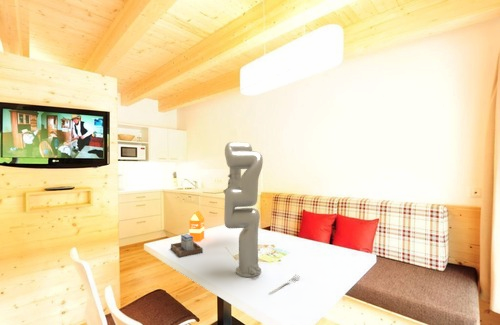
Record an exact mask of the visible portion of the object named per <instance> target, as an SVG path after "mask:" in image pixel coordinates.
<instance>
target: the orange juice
mask: <svg viewBox="0 0 500 325" xmlns="http://www.w3.org/2000/svg"><path fill="white" fill-rule="evenodd" d="M189 235H191V236H193V241H194V242H195V243H197V242H199V243H201V242H202V241H203V240H204V239H205V217H204V216H203V214H202V213H201V211H200V210H198V211H196V212H194V213H193V214H192V216H191V217H190V218H189Z"/></svg>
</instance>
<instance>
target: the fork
mask: <svg viewBox="0 0 500 325" xmlns="http://www.w3.org/2000/svg"><path fill="white" fill-rule="evenodd" d="M300 277H301V275H298V274H295V275H293V277H292V278H291V279H289V282H285V283H282V284H281V285H279V287H277V288H275V289H274V290H272V291H270V292H268V296H270V295H273V294H275V293H276V292H278V291H279V290H280V289H281V288H283V287H284V286H285V285H291V283H290V282H292V283H296V282H297V281H298V280H299V279H300Z"/></svg>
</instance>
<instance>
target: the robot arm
mask: <svg viewBox="0 0 500 325" xmlns="http://www.w3.org/2000/svg"><path fill="white" fill-rule="evenodd" d="M224 156H225V160H226V165H227V166H228V168H229V174H228V175H227V178H228V182H227V187H226V188H225V189H223V194H224V212H223V213H224V215H223V216H224V217H223V218H224V219H223V221H224V222H223V223H224V226H225V228H227V229H242V230H241V232H239V234H238V266H237V267H236V269H235V273H236V274H237V275H238V276H240V277H244V278H254V277H257V276H259V275H260V274H262V268H261V267H260V266H259V265H260V264H259V226H260V219H261V218H260V217H261V215H260V212H259V211H258V210H257V209H256V208H254V206H256V205H257V203H258V196H259V195H258V194H259V193H258V191H259V189H258V188H259V178H260V174H261V171H262V168H263V161H264V160H263V155H262V154H261V152H258V151H254V150H253V148H252V145H251V144H250V143H248V142H244V141H242V142H241V141H239V142H237V141H235V142H234V141H232V142H231V141H230V142H227V143H226V145H225V147H224ZM242 170H245V171H244V172H243V173H242Z"/></svg>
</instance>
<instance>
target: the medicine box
mask: <svg viewBox="0 0 500 325" xmlns="http://www.w3.org/2000/svg"><path fill="white" fill-rule="evenodd" d="M180 243H181V249H183V250H185V251H187V250H192V249H193V236H191V235H190V234H188V233H186V234H181V235H180Z"/></svg>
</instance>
